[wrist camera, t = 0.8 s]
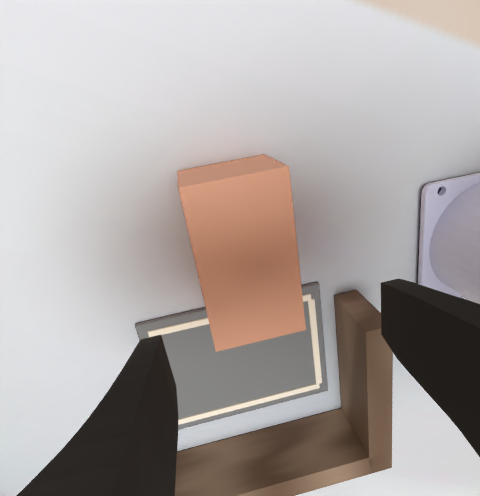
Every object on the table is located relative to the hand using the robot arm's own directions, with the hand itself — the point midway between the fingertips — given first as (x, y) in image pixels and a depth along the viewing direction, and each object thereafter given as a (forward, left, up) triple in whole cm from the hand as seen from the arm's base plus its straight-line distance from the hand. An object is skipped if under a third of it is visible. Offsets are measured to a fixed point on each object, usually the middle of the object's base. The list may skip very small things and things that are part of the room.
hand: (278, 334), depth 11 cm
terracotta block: (0, 0, -9) cm, 9 cm away
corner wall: (0, +11, -9) cm, 14 cm away
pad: (+1, +8, -9) cm, 12 cm away
